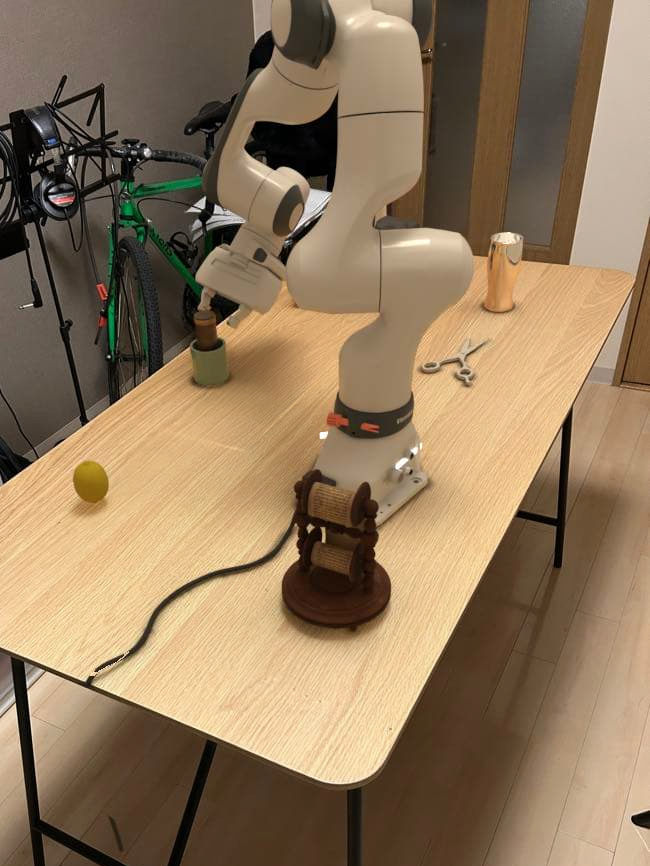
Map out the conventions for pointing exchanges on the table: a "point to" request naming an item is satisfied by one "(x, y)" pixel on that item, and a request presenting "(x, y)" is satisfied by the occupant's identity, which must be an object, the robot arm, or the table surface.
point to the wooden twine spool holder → (335, 557)
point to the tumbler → (209, 364)
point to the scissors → (458, 356)
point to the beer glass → (502, 270)
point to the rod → (206, 331)
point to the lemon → (90, 481)
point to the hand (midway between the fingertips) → (216, 319)
